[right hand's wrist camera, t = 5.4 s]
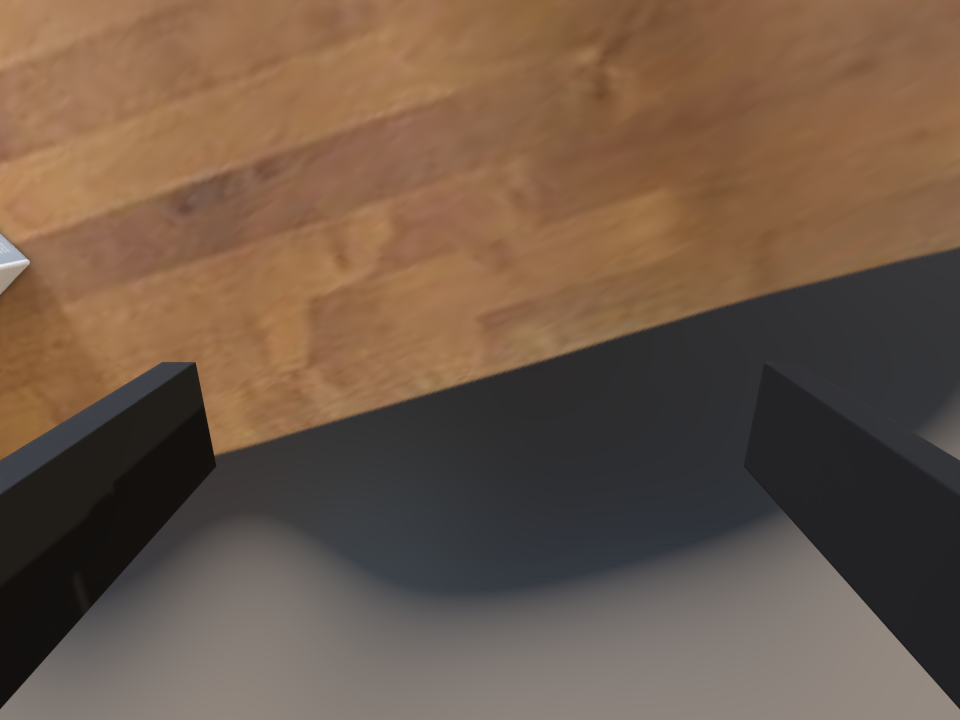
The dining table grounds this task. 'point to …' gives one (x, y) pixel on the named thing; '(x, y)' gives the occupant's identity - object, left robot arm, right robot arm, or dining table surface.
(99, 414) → the right robot arm
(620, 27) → the dining table surface
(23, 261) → the hard drive box
